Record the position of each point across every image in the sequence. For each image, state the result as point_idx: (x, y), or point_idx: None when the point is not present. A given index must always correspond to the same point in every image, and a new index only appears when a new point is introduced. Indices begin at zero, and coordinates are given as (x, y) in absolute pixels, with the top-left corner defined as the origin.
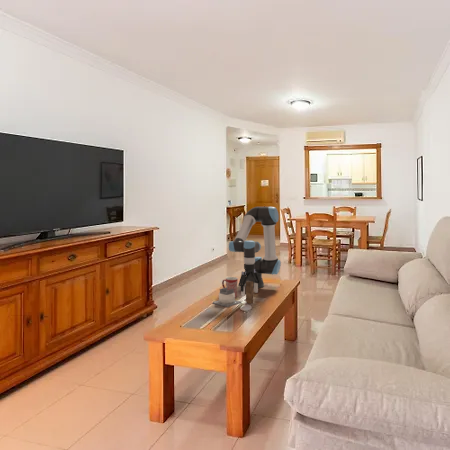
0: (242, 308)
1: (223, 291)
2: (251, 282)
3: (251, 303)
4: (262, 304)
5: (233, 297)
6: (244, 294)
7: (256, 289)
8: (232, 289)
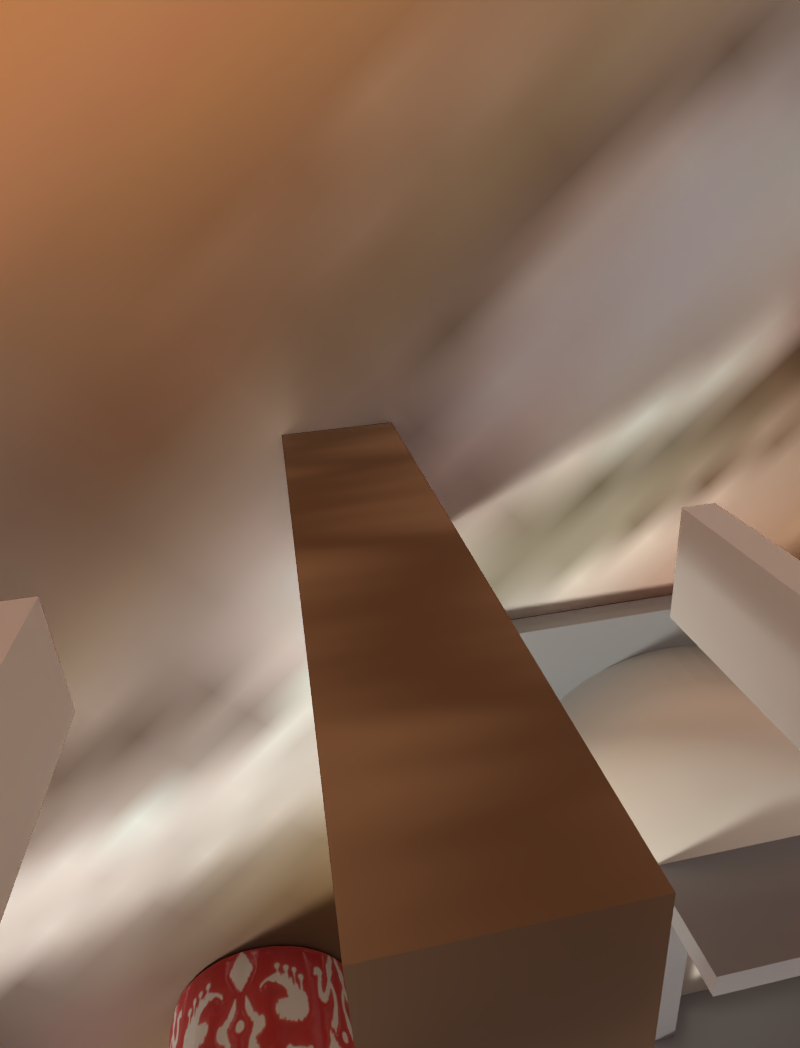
0: (786, 281)
1: (777, 1007)
2: (543, 889)
3: (353, 429)
4: (168, 163)
5: (708, 729)
6: (737, 528)
7: (7, 688)
8: (760, 954)
